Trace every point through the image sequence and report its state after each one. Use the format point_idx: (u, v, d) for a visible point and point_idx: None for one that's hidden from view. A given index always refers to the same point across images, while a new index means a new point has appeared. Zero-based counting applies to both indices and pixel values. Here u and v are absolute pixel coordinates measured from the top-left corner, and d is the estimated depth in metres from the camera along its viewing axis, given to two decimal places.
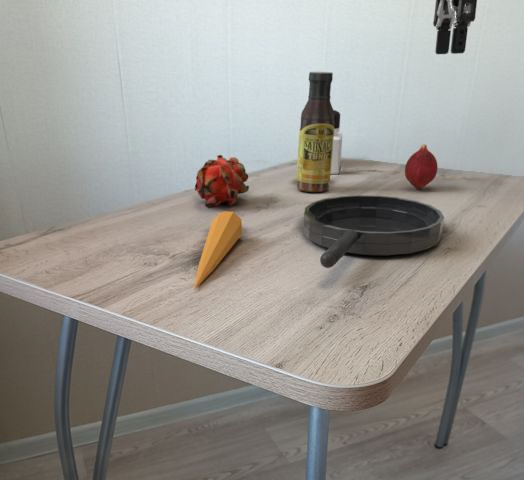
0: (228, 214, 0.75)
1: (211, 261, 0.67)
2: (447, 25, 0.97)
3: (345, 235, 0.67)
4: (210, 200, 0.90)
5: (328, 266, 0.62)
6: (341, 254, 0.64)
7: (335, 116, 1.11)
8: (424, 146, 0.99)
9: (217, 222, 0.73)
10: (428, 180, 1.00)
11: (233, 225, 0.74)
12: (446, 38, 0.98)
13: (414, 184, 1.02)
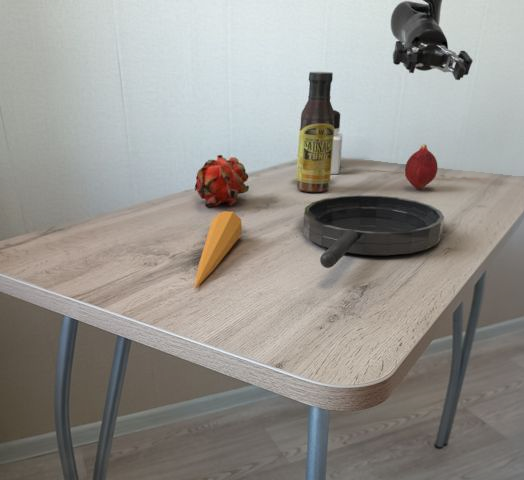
0: (228, 214, 0.75)
1: (211, 261, 0.67)
2: None
3: (345, 235, 0.67)
4: (210, 200, 0.90)
5: (328, 266, 0.62)
6: (341, 254, 0.64)
7: (335, 116, 1.11)
8: (424, 146, 0.99)
9: (217, 222, 0.73)
10: (428, 180, 1.00)
11: (233, 225, 0.74)
12: (456, 66, 1.00)
13: (414, 184, 1.02)
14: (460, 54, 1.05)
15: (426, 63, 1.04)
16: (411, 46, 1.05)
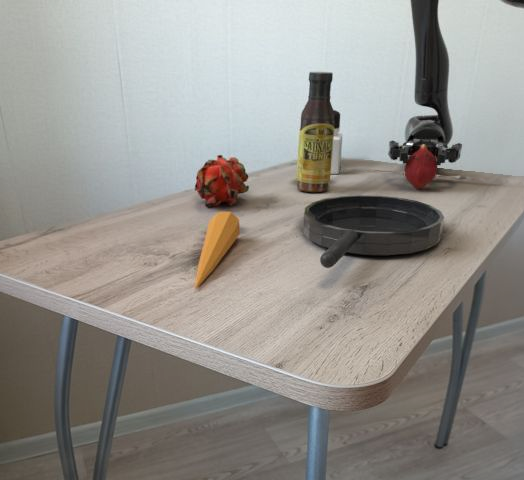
0: (226, 214, 0.75)
1: (210, 261, 0.67)
2: None
3: (345, 235, 0.67)
4: (210, 200, 0.90)
5: (328, 266, 0.62)
6: (341, 254, 0.64)
7: (335, 116, 1.11)
8: (424, 146, 0.99)
9: (215, 222, 0.73)
10: (428, 180, 1.00)
11: (231, 225, 0.74)
12: None
13: (414, 184, 1.02)
14: (453, 145, 1.04)
15: None
16: (404, 143, 1.07)
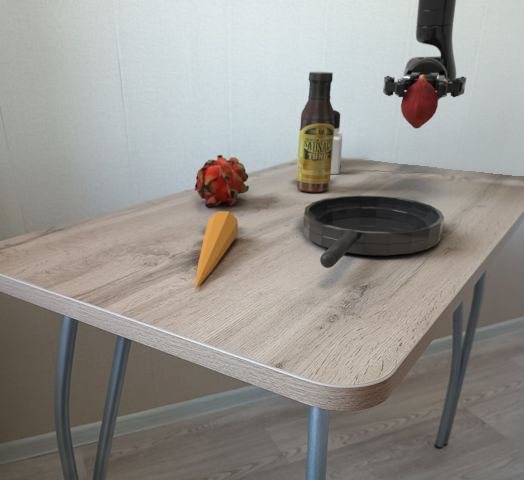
0: (224, 214, 0.75)
1: (210, 260, 0.67)
2: None
3: (345, 235, 0.67)
4: (210, 200, 0.90)
5: (328, 266, 0.62)
6: (341, 254, 0.64)
7: (335, 116, 1.11)
8: (422, 77, 0.88)
9: (214, 222, 0.73)
10: (427, 115, 0.88)
11: (229, 225, 0.74)
12: None
13: (412, 122, 0.90)
14: (456, 79, 0.92)
15: None
16: None
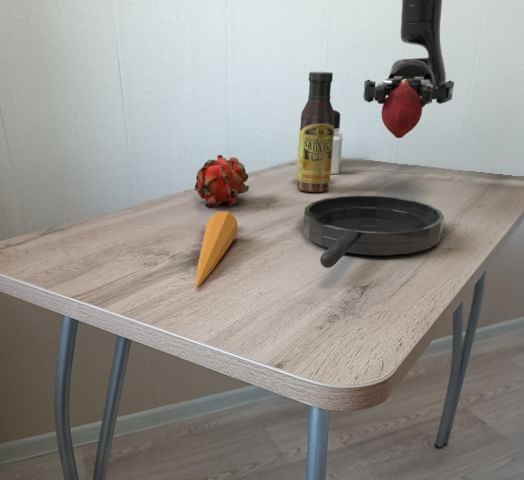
0: (223, 214, 0.75)
1: (210, 261, 0.67)
2: None
3: (345, 235, 0.67)
4: (210, 200, 0.90)
5: (328, 266, 0.62)
6: (341, 254, 0.64)
7: (335, 116, 1.11)
8: (405, 81, 0.79)
9: (213, 222, 0.73)
10: (410, 124, 0.80)
11: (229, 225, 0.74)
12: None
13: (393, 131, 0.81)
14: None
15: None
16: (383, 82, 0.86)
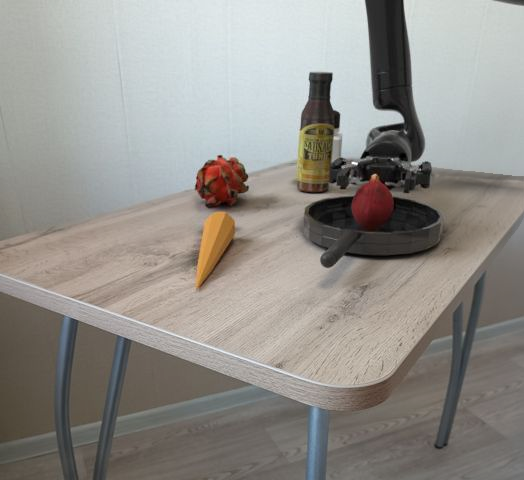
0: (221, 214, 0.75)
1: (209, 261, 0.67)
2: None
3: (345, 235, 0.67)
4: (210, 200, 0.90)
5: (328, 266, 0.62)
6: (341, 254, 0.64)
7: (335, 116, 1.11)
8: (375, 177, 0.75)
9: (211, 222, 0.73)
10: (381, 221, 0.76)
11: (227, 226, 0.74)
12: None
13: (363, 226, 0.77)
14: (420, 165, 0.79)
15: None
16: None
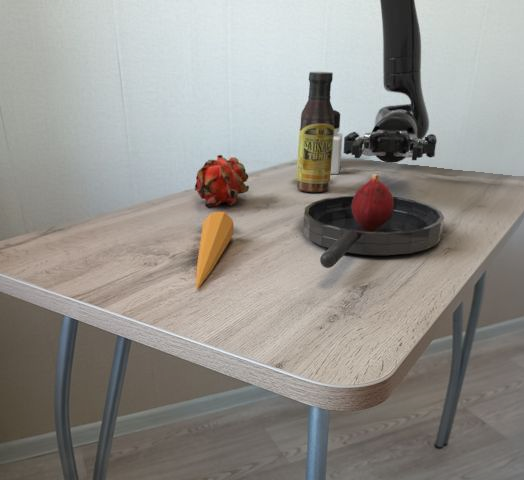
0: (220, 214, 0.75)
1: (209, 261, 0.67)
2: None
3: (345, 235, 0.67)
4: (210, 200, 0.90)
5: (328, 266, 0.62)
6: (341, 254, 0.64)
7: (335, 116, 1.11)
8: (375, 177, 0.75)
9: (210, 223, 0.73)
10: (381, 221, 0.76)
11: (226, 225, 0.74)
12: None
13: (363, 226, 0.77)
14: (426, 137, 0.88)
15: (384, 150, 0.88)
16: None
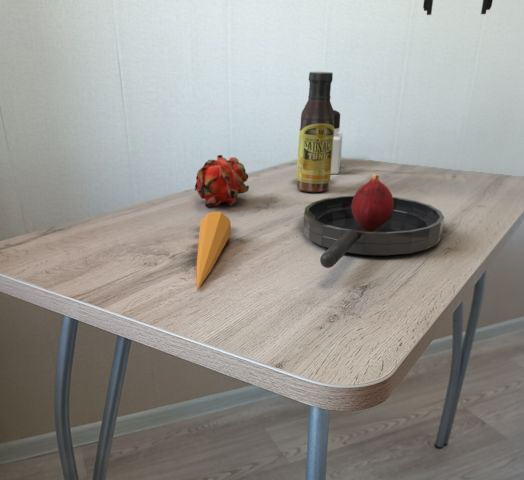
0: (217, 214, 0.75)
1: (208, 261, 0.66)
2: None
3: (345, 235, 0.67)
4: (210, 200, 0.90)
5: (328, 266, 0.62)
6: (341, 254, 0.64)
7: (335, 116, 1.11)
8: (375, 177, 0.75)
9: (207, 222, 0.73)
10: (381, 221, 0.76)
11: (223, 225, 0.74)
12: None
13: (363, 226, 0.77)
14: None
15: None
16: None
